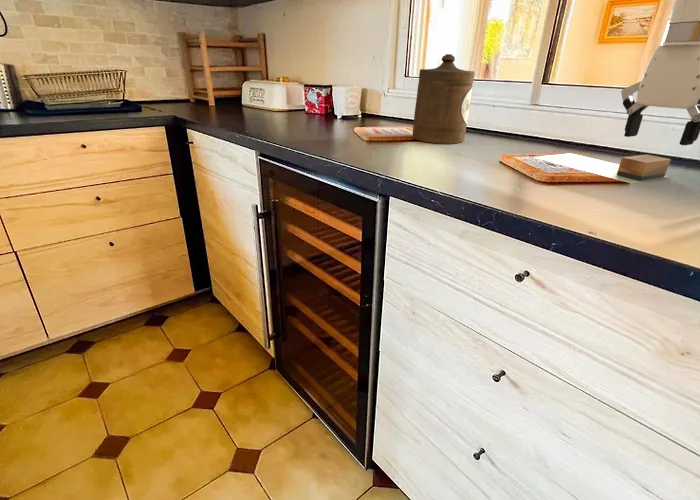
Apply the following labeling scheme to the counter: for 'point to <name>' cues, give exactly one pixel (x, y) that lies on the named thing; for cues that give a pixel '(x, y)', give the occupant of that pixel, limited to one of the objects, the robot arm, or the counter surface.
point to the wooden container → (442, 103)
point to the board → (588, 165)
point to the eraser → (643, 167)
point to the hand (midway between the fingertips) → (656, 140)
